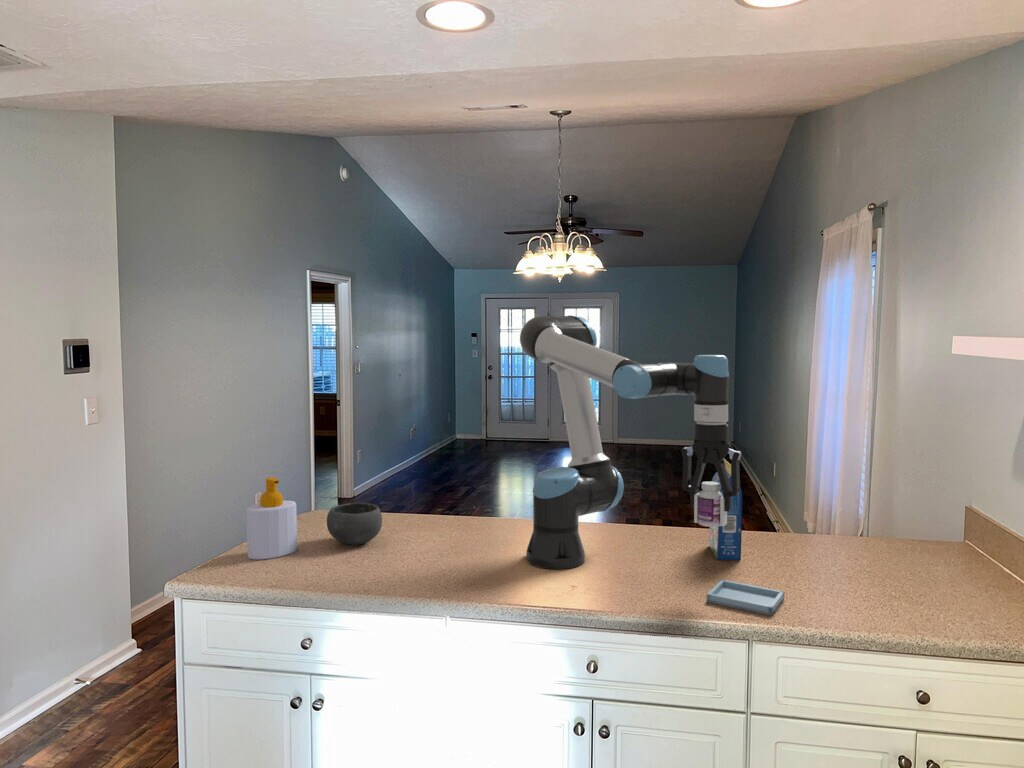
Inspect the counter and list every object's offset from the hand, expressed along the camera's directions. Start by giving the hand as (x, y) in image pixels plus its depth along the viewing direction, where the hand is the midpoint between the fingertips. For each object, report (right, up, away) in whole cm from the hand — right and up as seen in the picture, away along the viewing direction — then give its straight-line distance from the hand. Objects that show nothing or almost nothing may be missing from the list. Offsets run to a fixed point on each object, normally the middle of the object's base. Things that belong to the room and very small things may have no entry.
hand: (710, 523), depth 168 cm
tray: (+6, -16, -5) cm, 18 cm away
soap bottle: (-109, -13, +26) cm, 113 cm away
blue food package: (+11, -14, +28) cm, 33 cm away
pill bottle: (0, -1, 0) cm, 0 cm away
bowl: (-89, -13, +36) cm, 97 cm away
